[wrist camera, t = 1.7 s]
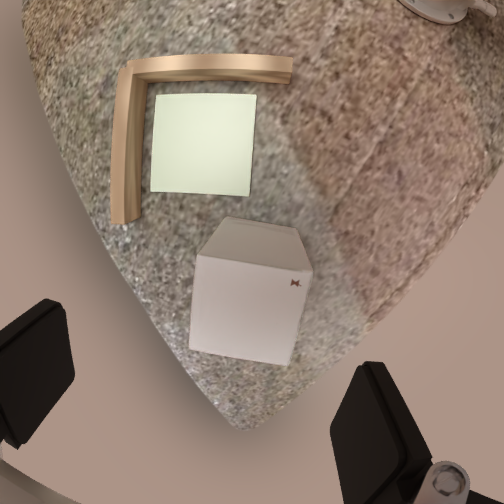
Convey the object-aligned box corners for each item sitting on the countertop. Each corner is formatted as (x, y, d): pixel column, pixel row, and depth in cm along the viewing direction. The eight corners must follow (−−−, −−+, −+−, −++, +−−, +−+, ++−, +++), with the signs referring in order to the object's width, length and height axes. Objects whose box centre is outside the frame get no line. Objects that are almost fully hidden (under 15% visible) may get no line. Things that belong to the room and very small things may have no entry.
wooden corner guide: (289, 70, 25) (292, 57, 21) (277, 226, 30) (279, 235, 26) (137, 71, 26) (120, 61, 22) (128, 216, 30) (111, 223, 26)
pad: (256, 95, 26) (256, 94, 26) (249, 196, 29) (249, 196, 29) (157, 95, 27) (156, 95, 26) (151, 191, 29) (150, 191, 29)
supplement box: (224, 214, 30) (195, 249, 18) (298, 227, 30) (318, 271, 18) (214, 282, 32) (185, 350, 20) (283, 295, 32) (290, 369, 20)
